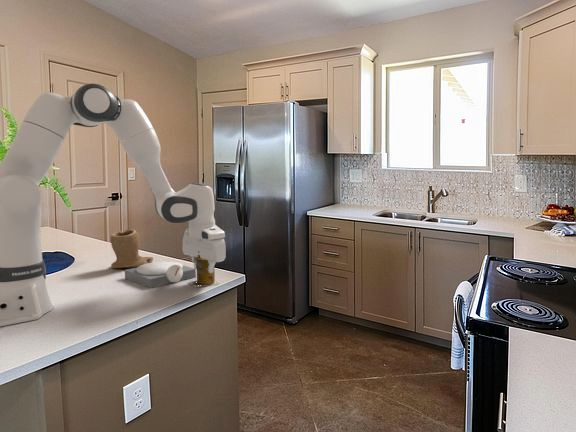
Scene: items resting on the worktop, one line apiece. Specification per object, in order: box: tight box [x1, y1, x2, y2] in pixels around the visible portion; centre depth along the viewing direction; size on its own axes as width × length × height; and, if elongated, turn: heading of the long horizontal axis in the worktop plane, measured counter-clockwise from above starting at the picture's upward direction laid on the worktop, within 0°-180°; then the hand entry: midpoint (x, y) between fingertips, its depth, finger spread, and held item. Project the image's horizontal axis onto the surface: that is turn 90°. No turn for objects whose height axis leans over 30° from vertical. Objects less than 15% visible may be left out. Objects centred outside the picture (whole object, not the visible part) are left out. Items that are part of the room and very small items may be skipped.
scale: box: [124, 260, 197, 289], centre depth 158 cm, size 18×19×6 cm
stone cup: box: [109, 229, 154, 269], centre depth 173 cm, size 15×12×15 cm
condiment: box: [187, 252, 220, 288], centre depth 150 cm, size 7×8×12 cm
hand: (203, 270), depth 150 cm, fingers closed on condiment, 6 cm apart
